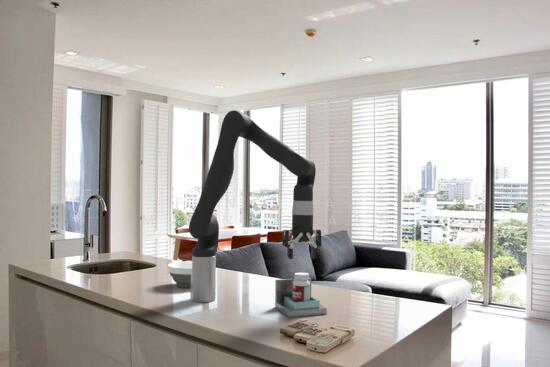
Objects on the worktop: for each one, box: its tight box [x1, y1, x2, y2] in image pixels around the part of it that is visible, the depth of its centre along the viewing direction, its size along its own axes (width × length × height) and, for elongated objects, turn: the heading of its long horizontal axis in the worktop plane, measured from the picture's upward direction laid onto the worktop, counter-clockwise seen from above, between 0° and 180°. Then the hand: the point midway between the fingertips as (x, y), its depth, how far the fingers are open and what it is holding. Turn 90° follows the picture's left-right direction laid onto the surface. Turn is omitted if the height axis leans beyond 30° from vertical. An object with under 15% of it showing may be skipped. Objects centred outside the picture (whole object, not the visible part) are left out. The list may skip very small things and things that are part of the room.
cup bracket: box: [274, 277, 328, 318], centre depth 157 cm, size 14×14×10 cm
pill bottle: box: [293, 272, 310, 302], centre depth 156 cm, size 6×6×11 cm
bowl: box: [167, 260, 192, 289], centre depth 197 cm, size 20×20×10 cm
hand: (301, 258), depth 157 cm, fingers open, 8 cm apart
